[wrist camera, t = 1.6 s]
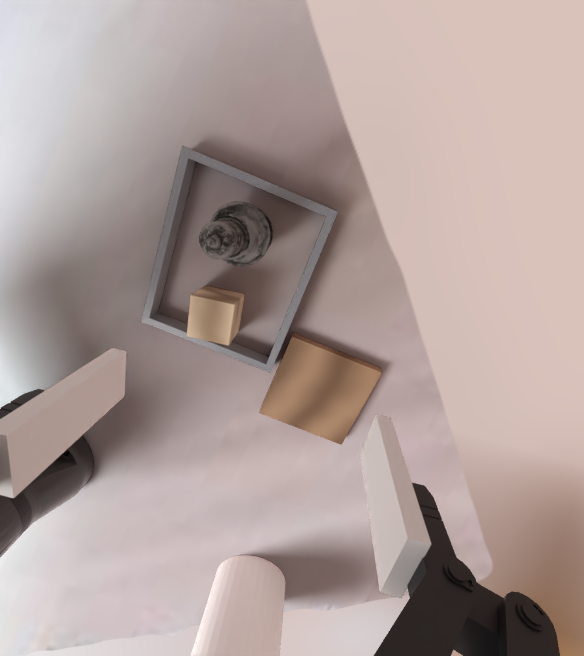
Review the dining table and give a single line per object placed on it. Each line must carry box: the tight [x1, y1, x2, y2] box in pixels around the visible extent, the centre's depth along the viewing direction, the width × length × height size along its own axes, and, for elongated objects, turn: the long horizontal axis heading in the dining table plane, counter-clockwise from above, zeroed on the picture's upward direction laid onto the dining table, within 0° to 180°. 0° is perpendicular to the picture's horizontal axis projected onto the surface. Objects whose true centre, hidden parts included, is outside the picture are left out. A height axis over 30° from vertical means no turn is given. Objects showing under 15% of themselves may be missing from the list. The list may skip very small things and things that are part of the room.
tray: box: [141, 146, 338, 372], centre depth 34 cm, size 16×19×2 cm
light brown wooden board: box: [259, 333, 382, 444], centre depth 39 cm, size 11×11×1 cm
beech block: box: [187, 286, 245, 346], centre depth 35 cm, size 4×4×4 cm
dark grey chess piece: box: [199, 202, 273, 266], centre depth 28 cm, size 6×6×12 cm
